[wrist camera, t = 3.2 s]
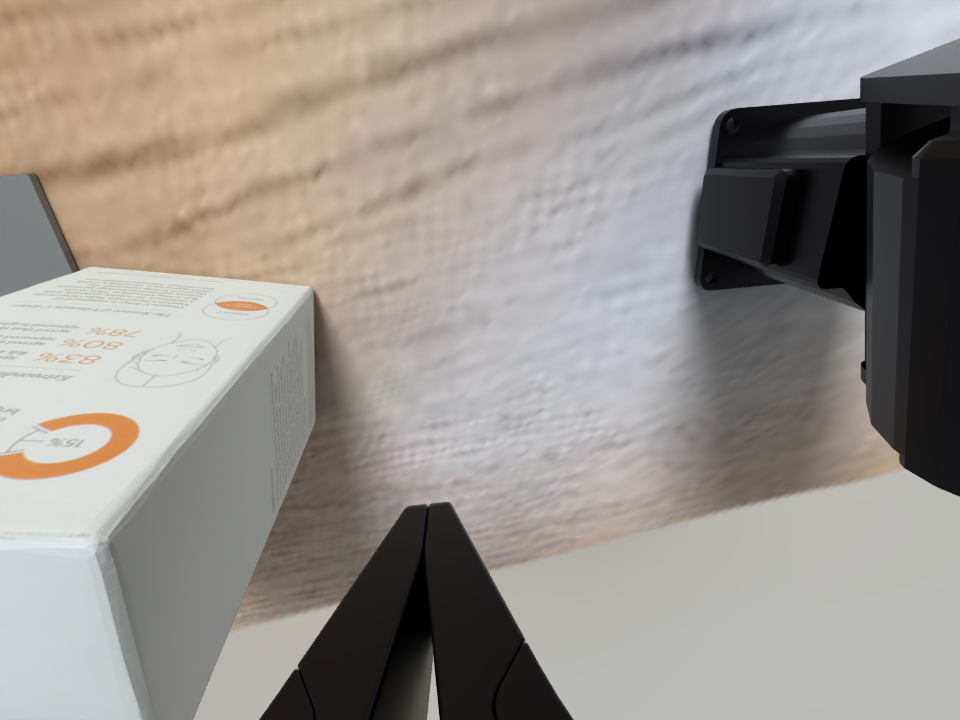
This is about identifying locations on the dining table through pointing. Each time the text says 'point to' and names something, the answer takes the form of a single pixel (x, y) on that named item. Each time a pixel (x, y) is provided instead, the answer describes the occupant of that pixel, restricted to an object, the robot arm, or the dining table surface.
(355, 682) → the robot arm
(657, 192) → the dining table surface
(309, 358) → the small box
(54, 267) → the mat
